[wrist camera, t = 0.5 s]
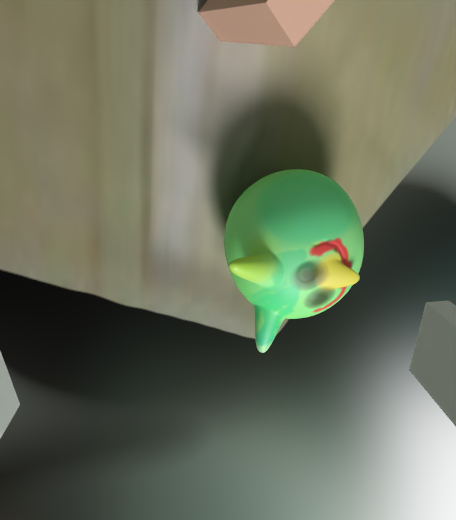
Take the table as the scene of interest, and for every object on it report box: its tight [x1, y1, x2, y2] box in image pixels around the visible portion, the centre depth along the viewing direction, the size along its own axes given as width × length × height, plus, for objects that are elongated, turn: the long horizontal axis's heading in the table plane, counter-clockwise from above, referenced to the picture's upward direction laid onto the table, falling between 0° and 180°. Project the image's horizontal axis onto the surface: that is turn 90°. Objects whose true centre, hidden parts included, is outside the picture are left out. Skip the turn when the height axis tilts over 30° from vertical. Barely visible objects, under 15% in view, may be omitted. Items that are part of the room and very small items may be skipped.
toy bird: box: [224, 169, 364, 353], centre depth 39 cm, size 18×17×15 cm
